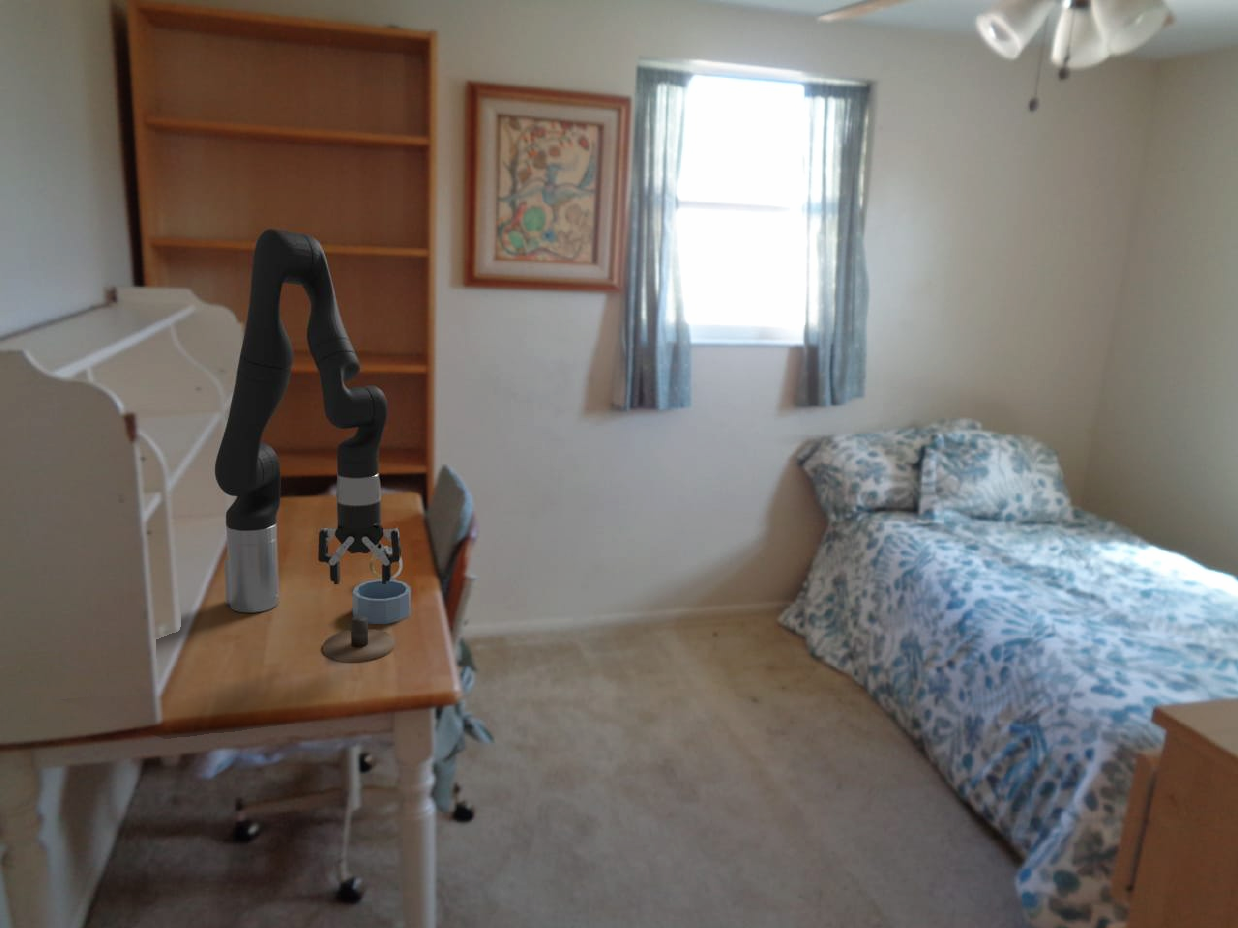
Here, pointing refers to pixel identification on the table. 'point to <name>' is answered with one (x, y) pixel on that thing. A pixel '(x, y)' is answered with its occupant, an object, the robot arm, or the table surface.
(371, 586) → the bowl
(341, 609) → the table surface
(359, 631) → the lid
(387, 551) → the ring
